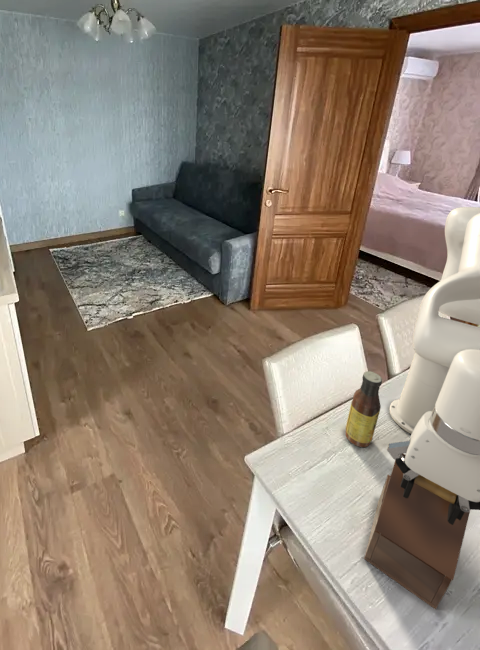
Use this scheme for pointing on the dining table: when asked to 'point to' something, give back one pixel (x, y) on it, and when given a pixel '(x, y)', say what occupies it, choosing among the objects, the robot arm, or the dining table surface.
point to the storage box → (405, 564)
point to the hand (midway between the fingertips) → (427, 502)
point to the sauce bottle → (364, 411)
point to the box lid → (422, 522)
